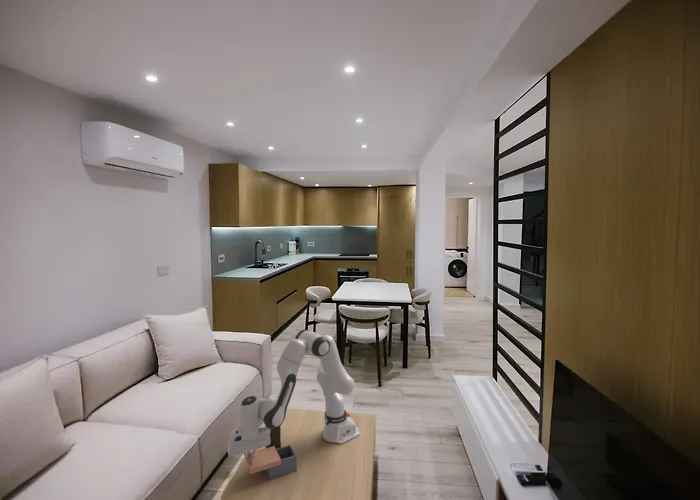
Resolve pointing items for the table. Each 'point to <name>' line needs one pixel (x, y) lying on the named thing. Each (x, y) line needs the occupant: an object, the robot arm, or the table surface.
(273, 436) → the container
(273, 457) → the lid
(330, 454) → the table surface
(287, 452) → the tub
